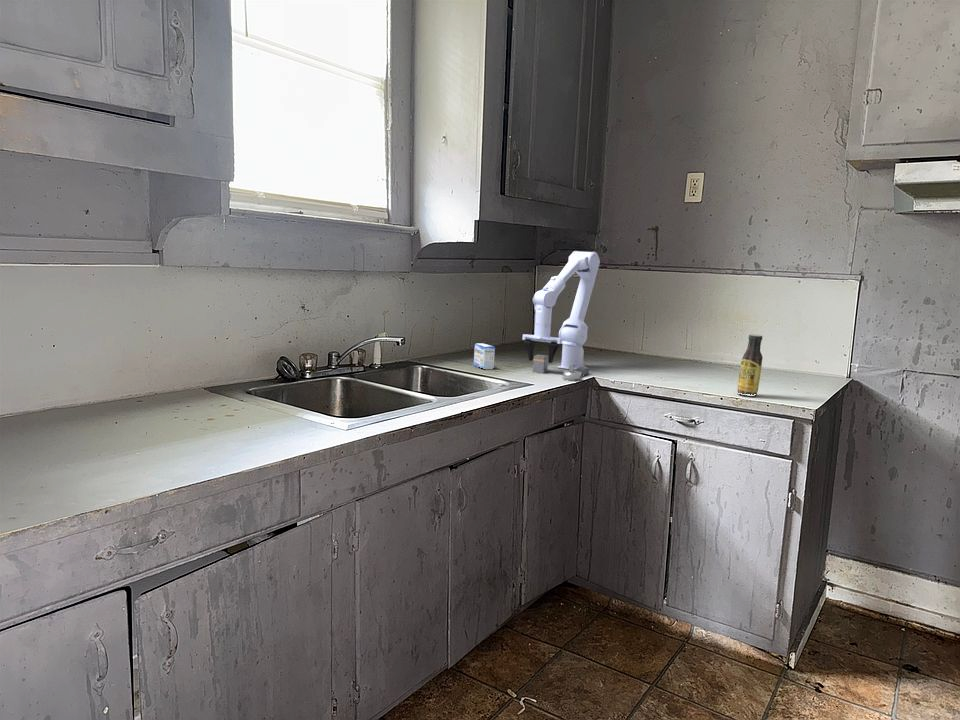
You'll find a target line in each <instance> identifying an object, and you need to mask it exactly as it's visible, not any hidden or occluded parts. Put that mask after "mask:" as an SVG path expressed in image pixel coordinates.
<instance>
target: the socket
mask: <svg viewBox="0 0 960 720" xmlns="http://www.w3.org/2000/svg"><path fill="white" fill-rule="evenodd" d="M548 360H549V355H546V354H536V355H533V360H532V361H533V362H532V372H533V373H535V372H536V374H546V373H548V367H549V366H548V365H549V362H548Z"/></svg>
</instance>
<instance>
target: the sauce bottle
mask: <svg viewBox="0 0 960 720" xmlns="http://www.w3.org/2000/svg"><path fill="white" fill-rule="evenodd" d="M762 341H763V335H762V334H756V333H755V334H754V333H753V334H752V333H750V334H748V342H747V343H748V344H747V348H746V350H745V352H744V353H743V356H742V359H741V362H740V366H739V367H740V368H739V374H738V375H739V376H738V383H737V388H736V389H737V392H738V393H742V394H750V395H751V394H752V395H754V394H758V393H759V386H760V379H761V373H762V366H763V355H762V352H761V344H762ZM738 393H737V394H738Z"/></svg>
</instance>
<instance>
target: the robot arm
mask: <svg viewBox="0 0 960 720" xmlns="http://www.w3.org/2000/svg"><path fill="white" fill-rule="evenodd" d="M600 264H601V260H600V256H599V254H598V253H597V252H596V251H579V250H574V251H572V253H570V255H569V256H568V261H567V263H566V264H565V265H564V267H563V268H562V270H561V271H560V273H559V274H558V275H555V276H554V275H553V276H551V278H550V280H548V282H547V283H546V284H545V286H543V288H542V289H540V290H538V291H536V292H535V293H534V295H533V297H532V303H533V306H534V312H535V314H534V315H535V316H534V334H527V333H526V334H524V333H523V334H522V341H523V344H524V347H525V349H526V352H527V357H528V361H531V362H532V361H533V359H534V349H535V343H536V342H543V343H548V364H552V363H553V361H554V359H555V355H556V352H557V350H558V349H559V347H560V345H562V351H561V363H560V364H561V365H558V366H557V368H559V369H566V370H569V365H575V367H574V371H575V369H577V368H579V367H586V365H584V357H585V356H584V354H585V353H584V352H585V351H584V347H583V346H584V344H585V343H586V342H587V339H588V330H589V327H588V325H587V324H586V322H585V318H586V313H587V311H588V307H589V303H590V299H591V297H592V292H593V290H594V287H595V281H596V277H597V274H598V271H599V267H600ZM575 273H576V274H577V275H578V276H579V278H580V280H579V282H578V283H579V284H578V286H577V287H578V288H577V290H576V294H575V298H574V301H573V304H572V308H571V311H570V314H569V315H570V316H569V317H568V318H567V319H566V320H564V321H563V323H562V325H561V328H560V329H559V330H558V331H559V332H558V337H555V336H551V328H552V327H551V326H552V314H553V313H552V309H553V307H554V306H556V302H557V299H558V297H559V295H560V294H561V293H562V292H563V290H564V289H565V288H566V282H567V281H568V280H569V279H570V278H571V277H572V276H573V275H574V274H575Z"/></svg>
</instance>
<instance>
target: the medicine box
mask: <svg viewBox="0 0 960 720" xmlns="http://www.w3.org/2000/svg"><path fill="white" fill-rule="evenodd" d="M495 350H496V347H495V345H494V346H493V345H490V344H486V343H483V342H482V343H475V344H474V351H473V352H474V353H473V355H474V356H473V367H474V366H477V367H480V368H483V369H493V368H494V367H495V355H496V354H495V353H496V352H495ZM477 367H476V368H477ZM480 368H479V369H480ZM483 369H482V370H483ZM493 370H494V369H493Z"/></svg>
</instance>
